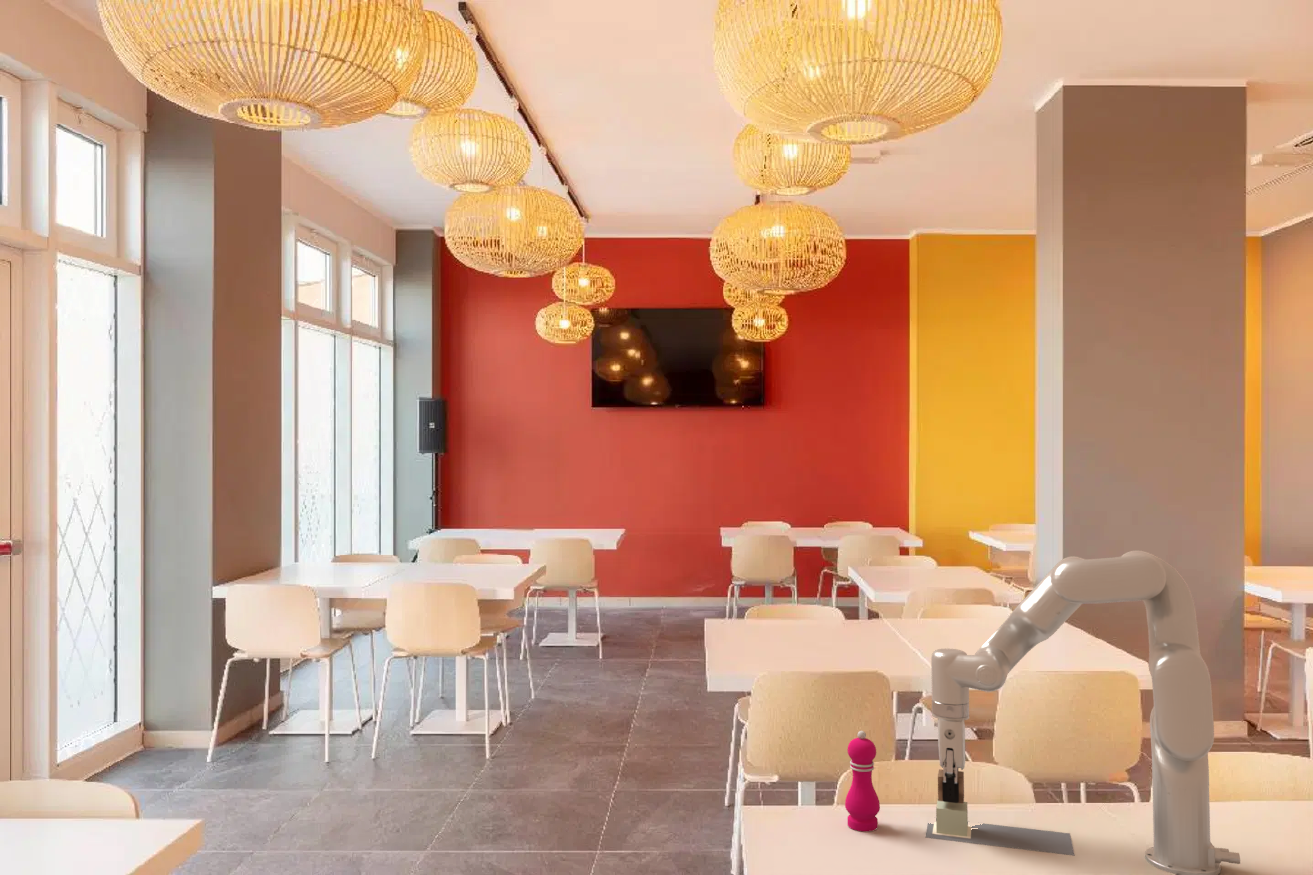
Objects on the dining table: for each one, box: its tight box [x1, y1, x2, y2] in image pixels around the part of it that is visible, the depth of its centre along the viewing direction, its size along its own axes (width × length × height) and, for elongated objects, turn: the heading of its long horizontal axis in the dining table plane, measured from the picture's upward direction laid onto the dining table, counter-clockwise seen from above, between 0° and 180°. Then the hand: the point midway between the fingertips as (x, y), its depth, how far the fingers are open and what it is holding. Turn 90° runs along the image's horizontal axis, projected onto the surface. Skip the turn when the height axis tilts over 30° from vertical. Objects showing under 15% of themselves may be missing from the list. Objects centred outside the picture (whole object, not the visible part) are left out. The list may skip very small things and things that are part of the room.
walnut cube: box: [937, 769, 965, 804], centre depth 197 cm, size 5×5×5 cm
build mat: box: [925, 822, 1076, 857], centre depth 194 cm, size 28×12×1 cm, turn 71°
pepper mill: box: [844, 730, 881, 833], centre depth 200 cm, size 7×7×20 cm
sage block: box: [935, 799, 969, 836], centre depth 197 cm, size 6×6×5 cm
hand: (951, 796), depth 197 cm, fingers closed on walnut cube, 4 cm apart
